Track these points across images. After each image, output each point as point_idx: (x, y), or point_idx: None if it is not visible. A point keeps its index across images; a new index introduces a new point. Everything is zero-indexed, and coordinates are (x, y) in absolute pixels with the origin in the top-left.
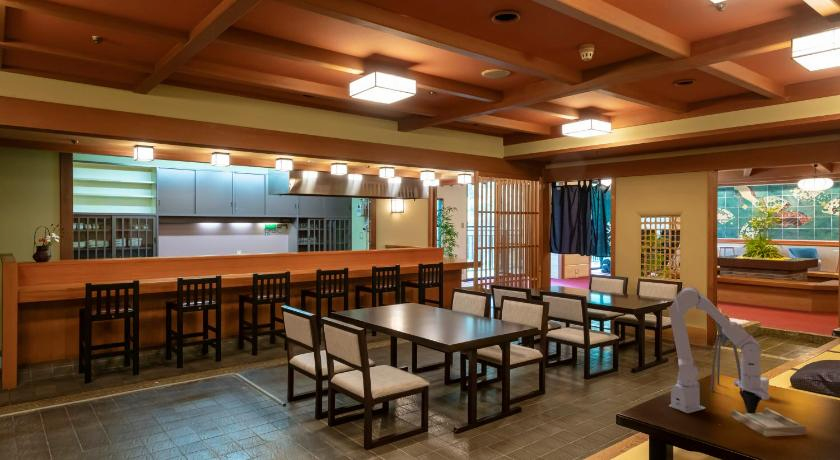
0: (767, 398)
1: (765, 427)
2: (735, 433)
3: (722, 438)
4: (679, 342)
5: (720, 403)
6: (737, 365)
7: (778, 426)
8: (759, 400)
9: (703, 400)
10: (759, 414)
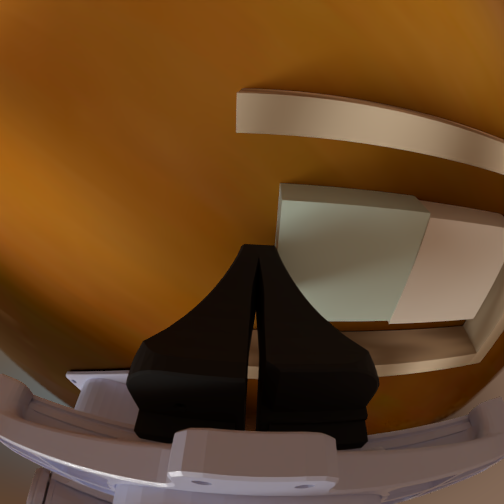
0: (493, 413)
1: (474, 358)
2: (391, 396)
3: (391, 423)
4: None
5: (36, 265)
6: None
7: (492, 273)
8: (330, 330)
9: (23, 307)
10: (316, 240)
